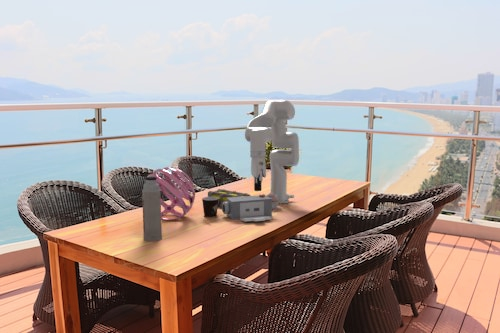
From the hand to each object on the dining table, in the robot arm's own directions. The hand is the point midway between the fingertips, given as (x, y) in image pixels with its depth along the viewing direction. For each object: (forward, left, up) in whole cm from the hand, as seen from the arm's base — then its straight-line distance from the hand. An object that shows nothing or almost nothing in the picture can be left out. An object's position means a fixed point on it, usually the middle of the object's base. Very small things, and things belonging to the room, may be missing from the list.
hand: (257, 190), depth 232 cm
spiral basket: (+39, -25, -17) cm, 49 cm away
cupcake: (-17, -26, -17) cm, 35 cm away
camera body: (+2, -14, -17) cm, 22 cm away
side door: (0, -8, -16) cm, 18 cm away
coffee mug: (+18, -20, -17) cm, 32 cm away
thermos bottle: (+53, +9, -17) cm, 56 cm away
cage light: (+3, -42, -17) cm, 45 cm away
